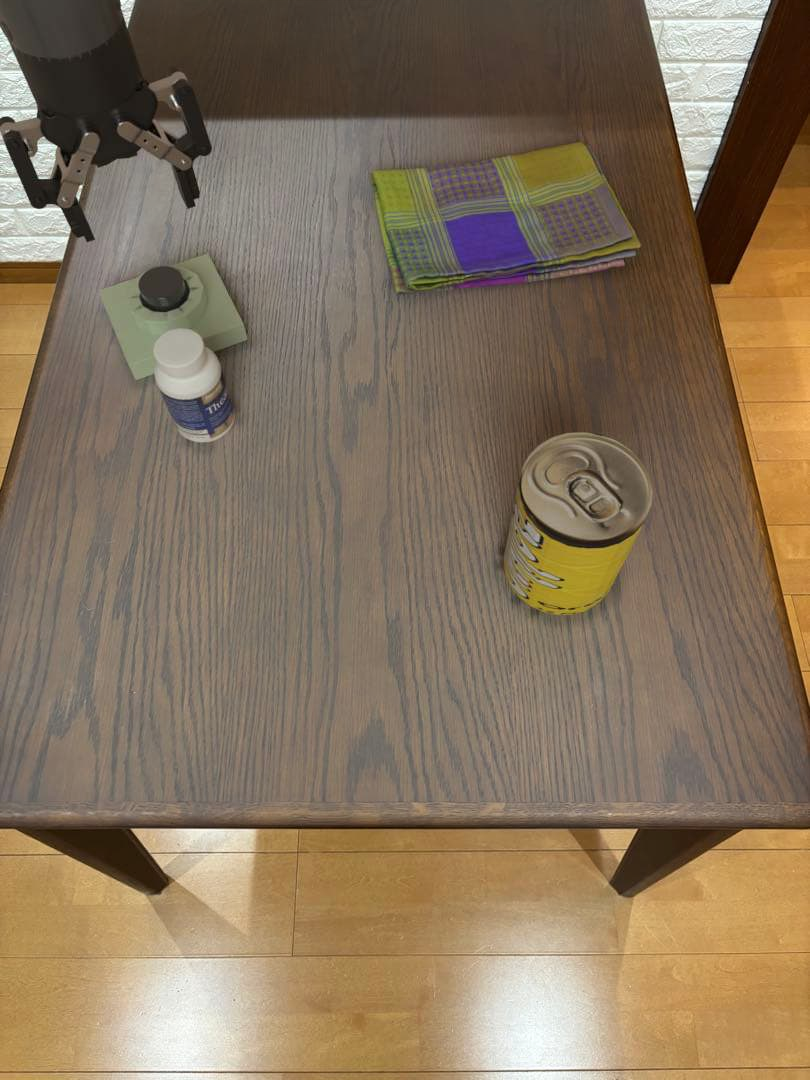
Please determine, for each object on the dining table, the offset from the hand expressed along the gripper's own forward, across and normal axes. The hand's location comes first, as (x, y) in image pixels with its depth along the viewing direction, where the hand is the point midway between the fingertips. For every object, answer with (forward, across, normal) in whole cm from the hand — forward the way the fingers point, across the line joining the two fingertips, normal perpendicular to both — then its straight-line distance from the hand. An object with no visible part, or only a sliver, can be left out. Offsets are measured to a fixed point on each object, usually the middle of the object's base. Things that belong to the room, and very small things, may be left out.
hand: (138, 218), depth 68 cm
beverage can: (+13, -20, +38) cm, 45 cm away
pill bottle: (+13, +1, +12) cm, 17 cm away
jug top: (+12, 0, 0) cm, 13 cm away
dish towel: (+13, -34, +2) cm, 36 cm away
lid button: (+9, 0, 0) cm, 9 cm away
